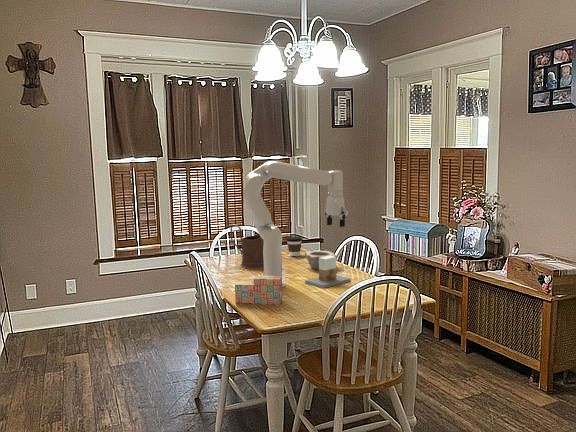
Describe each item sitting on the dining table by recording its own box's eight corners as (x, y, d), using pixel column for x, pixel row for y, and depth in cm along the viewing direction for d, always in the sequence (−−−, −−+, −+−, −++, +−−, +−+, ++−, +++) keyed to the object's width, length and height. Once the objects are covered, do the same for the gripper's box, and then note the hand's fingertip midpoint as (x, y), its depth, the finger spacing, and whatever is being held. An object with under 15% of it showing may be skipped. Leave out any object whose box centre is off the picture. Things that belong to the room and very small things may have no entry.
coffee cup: (295, 253, 357) (295, 236, 356) (306, 255, 349) (305, 237, 347) (283, 255, 350) (282, 238, 349) (293, 258, 342) (293, 240, 340)
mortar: (338, 270, 306) (338, 254, 305) (310, 272, 302) (310, 256, 301) (329, 264, 322) (329, 249, 321) (303, 266, 319) (303, 251, 317)
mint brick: (325, 270, 273) (325, 259, 273) (318, 268, 277) (318, 257, 276) (336, 267, 278) (336, 256, 278) (329, 266, 282) (329, 255, 282)
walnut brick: (325, 281, 274) (325, 270, 273) (319, 280, 278) (318, 268, 277) (336, 279, 279) (336, 268, 278) (329, 277, 283) (329, 266, 282)
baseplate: (323, 288, 267) (323, 285, 267) (305, 283, 278) (305, 280, 278) (350, 281, 280) (350, 278, 279) (332, 276, 290) (332, 274, 290)
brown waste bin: (267, 268, 314) (265, 227, 311) (228, 268, 318) (226, 227, 315) (272, 262, 332) (271, 223, 329) (235, 261, 336) (234, 223, 333)
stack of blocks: (235, 303, 244) (234, 278, 243) (238, 300, 251) (237, 274, 249) (280, 305, 241) (279, 279, 239) (282, 301, 247) (281, 275, 245)
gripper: (319, 193, 281) (319, 225, 283) (342, 195, 268) (342, 228, 270) (329, 192, 286) (329, 223, 288) (352, 194, 273) (352, 226, 275)
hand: (335, 225), depth 279 cm, fingers open, 9 cm apart
